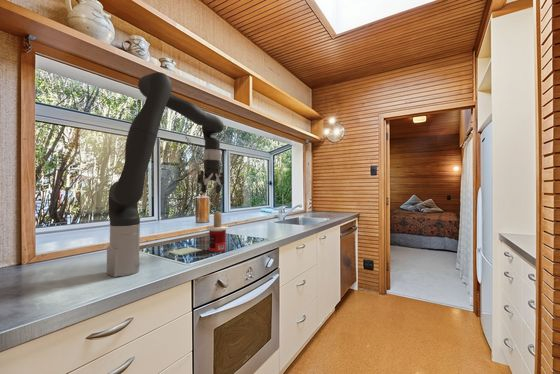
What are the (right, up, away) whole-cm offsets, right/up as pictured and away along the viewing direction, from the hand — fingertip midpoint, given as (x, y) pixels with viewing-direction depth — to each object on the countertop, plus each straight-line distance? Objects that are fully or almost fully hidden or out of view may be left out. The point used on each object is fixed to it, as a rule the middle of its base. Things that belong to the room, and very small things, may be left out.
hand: (211, 193), depth 124 cm
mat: (-12, -28, -2) cm, 31 cm away
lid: (+3, -17, 0) cm, 18 cm away
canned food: (+3, -29, 0) cm, 29 cm away
